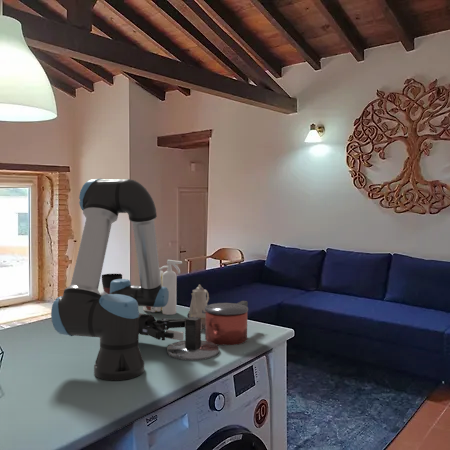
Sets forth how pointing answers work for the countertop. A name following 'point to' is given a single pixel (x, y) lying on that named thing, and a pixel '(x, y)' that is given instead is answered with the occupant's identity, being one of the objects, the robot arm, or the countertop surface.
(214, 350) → the lid
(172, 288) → the fire extinguisher
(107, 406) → the countertop surface
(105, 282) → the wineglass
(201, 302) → the chinaware
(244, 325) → the pot
